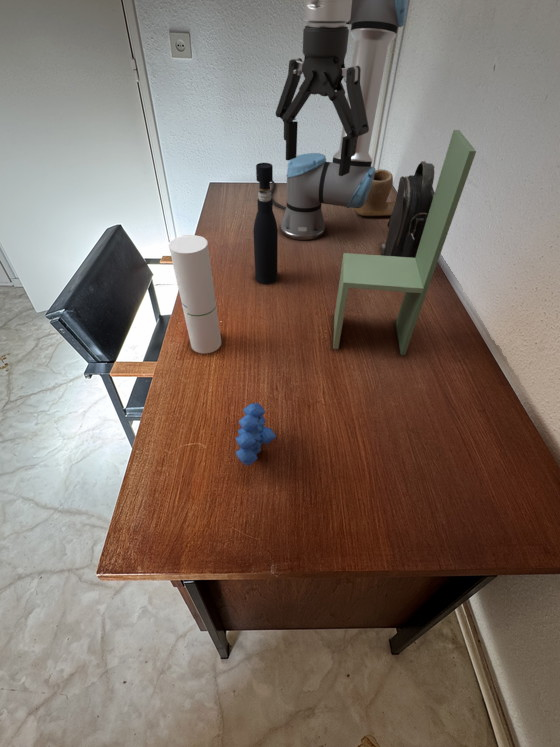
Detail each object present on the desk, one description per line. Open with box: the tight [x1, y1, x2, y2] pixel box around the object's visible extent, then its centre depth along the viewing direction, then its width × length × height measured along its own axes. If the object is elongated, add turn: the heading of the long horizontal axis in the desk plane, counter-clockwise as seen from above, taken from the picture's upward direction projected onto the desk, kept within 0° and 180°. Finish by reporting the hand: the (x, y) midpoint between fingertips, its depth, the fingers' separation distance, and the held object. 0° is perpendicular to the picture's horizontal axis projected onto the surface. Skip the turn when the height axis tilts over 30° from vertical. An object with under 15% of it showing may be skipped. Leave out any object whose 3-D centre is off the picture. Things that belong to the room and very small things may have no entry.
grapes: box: [234, 402, 277, 466], centre depth 63 cm, size 12×7×12 cm, turn 171°
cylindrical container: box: [168, 234, 222, 355], centre depth 79 cm, size 7×7×25 cm
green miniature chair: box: [332, 129, 477, 356], centre depth 75 cm, size 12×17×42 cm
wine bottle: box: [252, 162, 279, 285], centre depth 97 cm, size 6×6×30 cm
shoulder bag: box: [381, 160, 435, 258], centre depth 104 cm, size 23×9×28 cm, turn 172°
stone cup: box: [354, 168, 395, 217], centre depth 133 cm, size 15×12×15 cm
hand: (316, 166), depth 76 cm, fingers open, 13 cm apart
